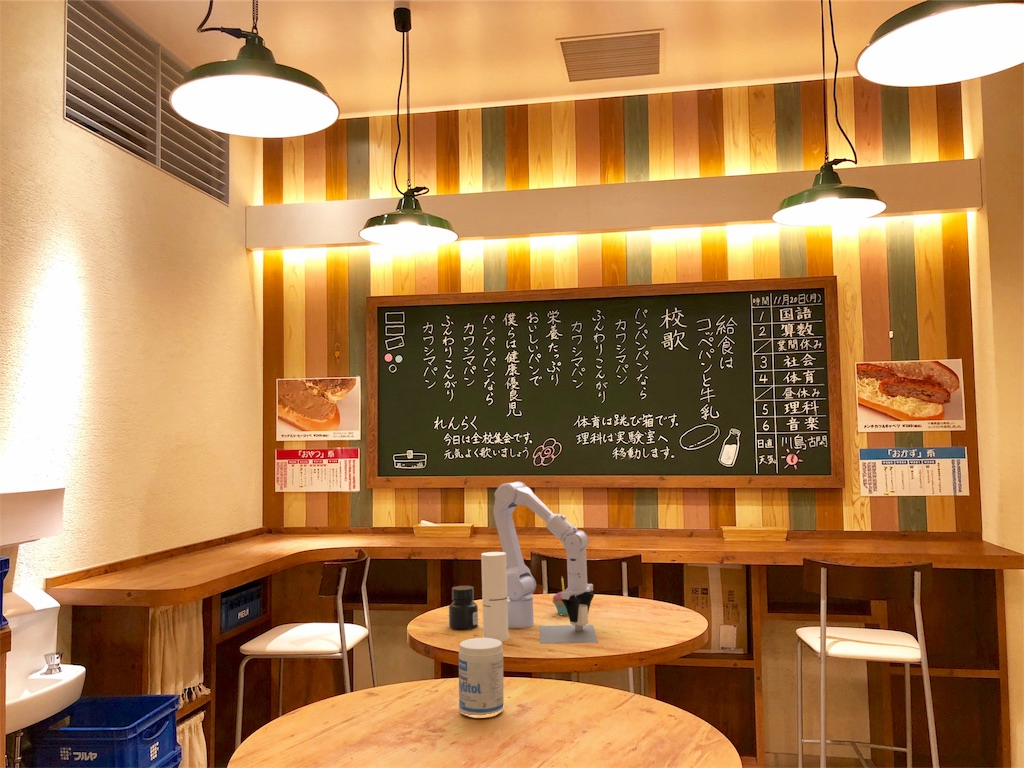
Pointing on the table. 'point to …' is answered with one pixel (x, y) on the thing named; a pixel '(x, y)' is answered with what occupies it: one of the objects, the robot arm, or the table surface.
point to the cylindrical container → (494, 595)
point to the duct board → (567, 634)
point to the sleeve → (582, 615)
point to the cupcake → (560, 601)
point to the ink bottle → (463, 609)
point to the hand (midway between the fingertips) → (578, 619)
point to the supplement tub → (480, 676)
